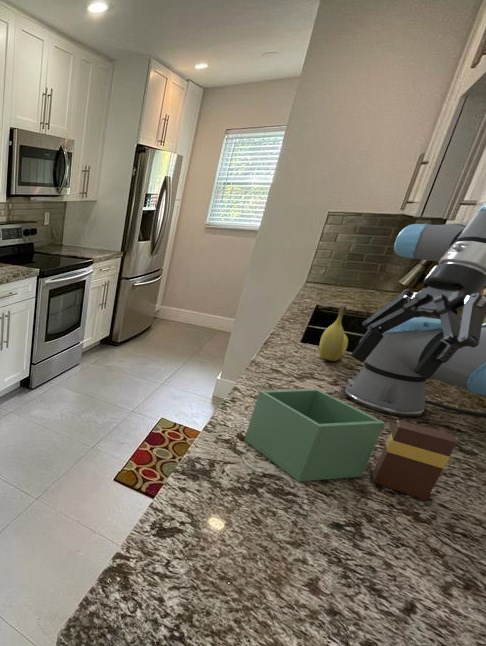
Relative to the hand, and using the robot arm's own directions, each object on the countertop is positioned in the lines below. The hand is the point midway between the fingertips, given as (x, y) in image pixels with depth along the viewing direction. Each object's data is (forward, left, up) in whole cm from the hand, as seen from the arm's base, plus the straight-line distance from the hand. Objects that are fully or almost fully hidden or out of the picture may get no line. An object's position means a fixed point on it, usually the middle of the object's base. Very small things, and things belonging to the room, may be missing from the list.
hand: (385, 366), depth 81 cm
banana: (-43, -45, -19) cm, 65 cm away
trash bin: (+15, +2, -19) cm, 24 cm away
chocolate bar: (+4, +12, -19) cm, 23 cm away
